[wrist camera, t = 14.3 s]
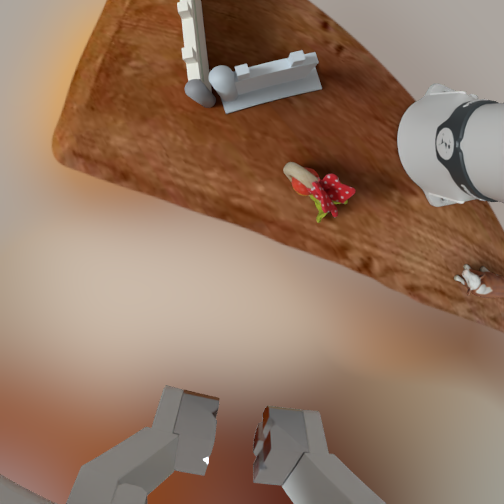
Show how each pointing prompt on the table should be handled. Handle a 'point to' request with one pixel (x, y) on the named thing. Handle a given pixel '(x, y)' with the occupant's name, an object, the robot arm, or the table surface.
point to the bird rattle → (319, 188)
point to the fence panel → (195, 53)
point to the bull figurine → (482, 282)
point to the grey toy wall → (265, 81)
